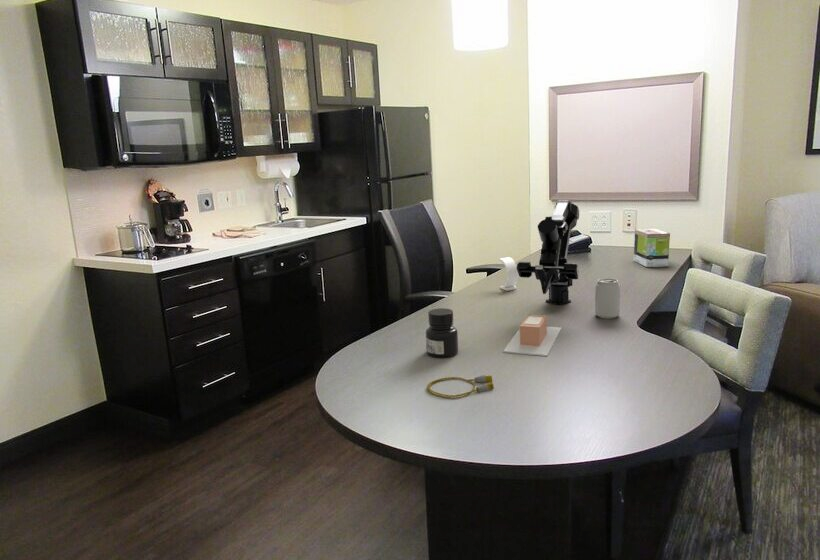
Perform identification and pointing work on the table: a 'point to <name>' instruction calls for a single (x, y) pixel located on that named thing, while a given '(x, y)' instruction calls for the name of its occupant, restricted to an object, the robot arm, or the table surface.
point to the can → (607, 298)
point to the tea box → (651, 247)
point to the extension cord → (477, 379)
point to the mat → (540, 350)
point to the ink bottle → (441, 334)
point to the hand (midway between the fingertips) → (544, 293)
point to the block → (533, 330)
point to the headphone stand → (510, 273)
